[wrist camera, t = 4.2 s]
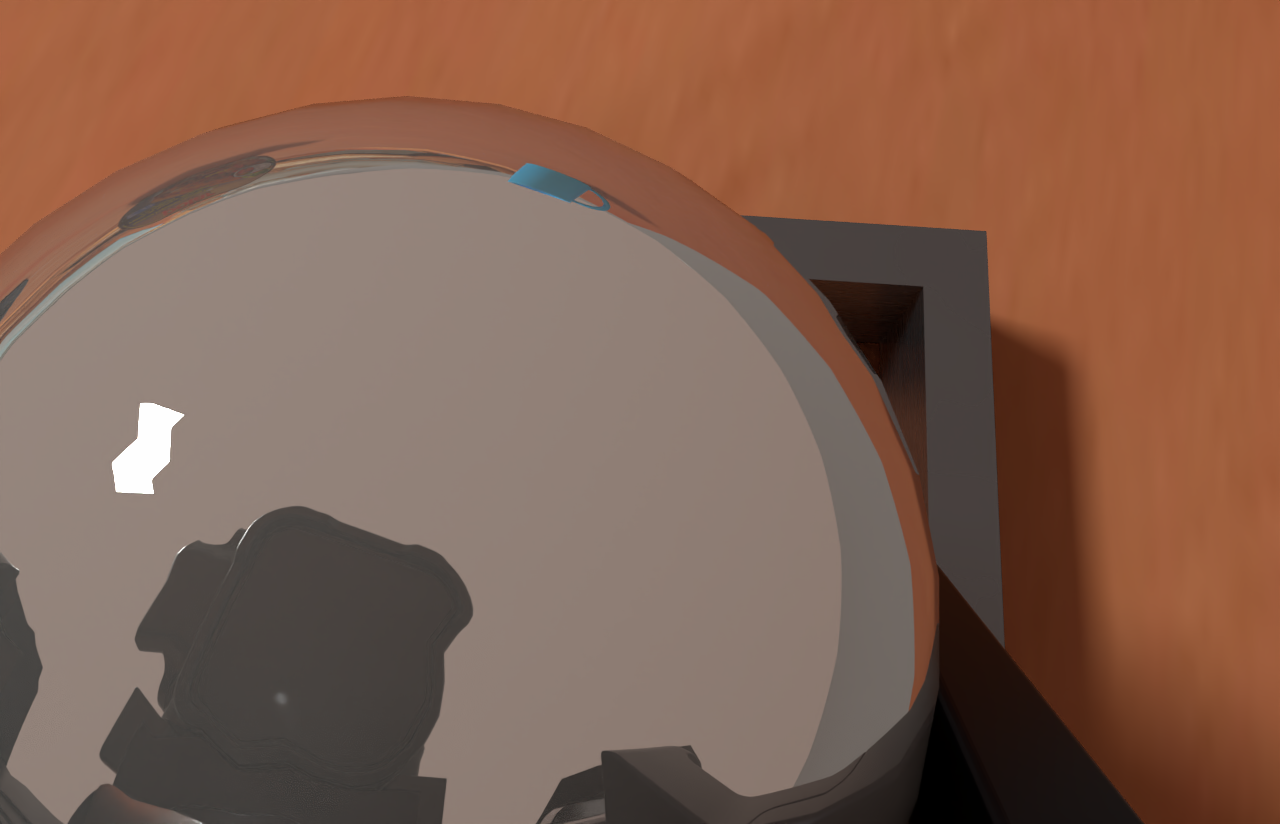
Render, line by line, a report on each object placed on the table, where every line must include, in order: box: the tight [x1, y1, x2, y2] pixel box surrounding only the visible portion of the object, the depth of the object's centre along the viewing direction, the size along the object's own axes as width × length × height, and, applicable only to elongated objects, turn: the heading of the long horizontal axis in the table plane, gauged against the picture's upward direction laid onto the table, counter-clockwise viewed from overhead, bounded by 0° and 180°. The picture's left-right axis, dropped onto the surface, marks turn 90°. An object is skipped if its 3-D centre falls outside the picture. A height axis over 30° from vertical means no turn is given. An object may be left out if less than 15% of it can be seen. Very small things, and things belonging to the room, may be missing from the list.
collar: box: [740, 215, 1005, 649], centre depth 14 cm, size 13×13×2 cm
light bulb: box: [0, 96, 939, 824], centre depth 9 cm, size 7×7×12 cm
